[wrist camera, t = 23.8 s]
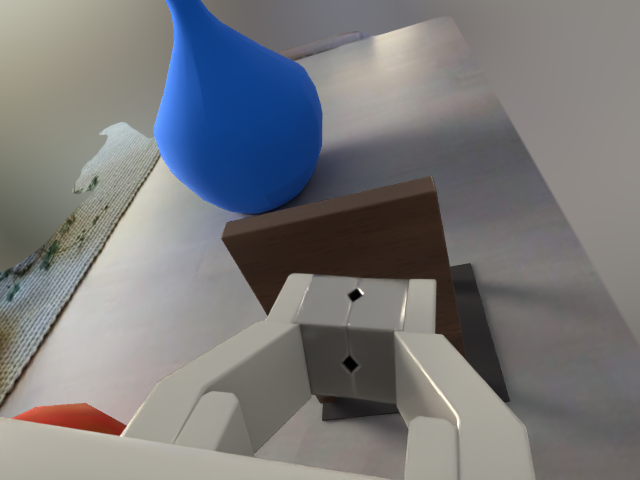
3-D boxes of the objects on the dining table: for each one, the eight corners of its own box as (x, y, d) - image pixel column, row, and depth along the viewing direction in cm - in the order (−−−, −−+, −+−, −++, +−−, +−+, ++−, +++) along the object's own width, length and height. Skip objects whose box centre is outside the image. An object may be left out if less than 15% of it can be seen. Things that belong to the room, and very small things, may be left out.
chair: (472, 390, 28) (436, 190, 19) (322, 407, 31) (220, 238, 21) (446, 277, 36) (411, 91, 26) (327, 297, 38) (254, 135, 28)
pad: (509, 401, 27) (509, 400, 27) (322, 420, 30) (322, 419, 30) (470, 264, 36) (470, 263, 36) (329, 288, 39) (328, 288, 39)
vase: (282, 137, 65) (180, -113, 46) (373, 163, 52) (282, -167, 34) (178, 210, 58) (11, -47, 40) (253, 261, 45) (57, -84, 27)
